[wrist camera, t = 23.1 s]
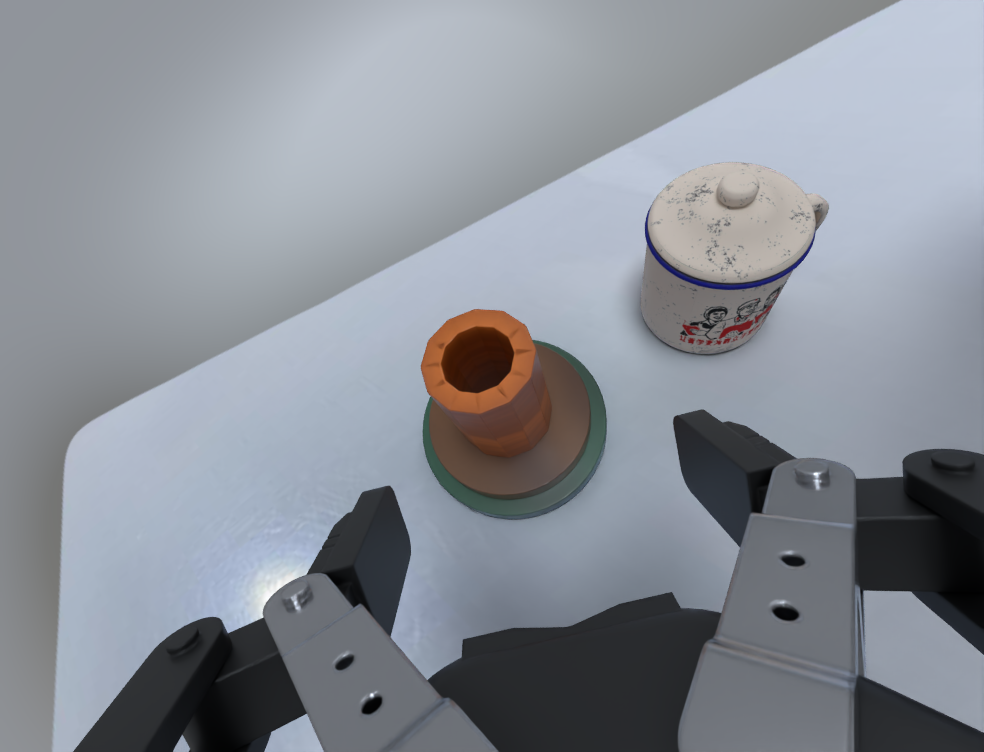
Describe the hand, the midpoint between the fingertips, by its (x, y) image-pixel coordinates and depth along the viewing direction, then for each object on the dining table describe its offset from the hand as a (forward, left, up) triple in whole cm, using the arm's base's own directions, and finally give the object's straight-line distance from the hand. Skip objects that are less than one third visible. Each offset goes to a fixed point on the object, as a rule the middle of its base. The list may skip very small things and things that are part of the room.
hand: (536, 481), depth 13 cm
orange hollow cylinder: (-1, -9, -16) cm, 18 cm away
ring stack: (-2, -9, -19) cm, 21 cm away
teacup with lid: (-20, -8, -19) cm, 28 cm away
